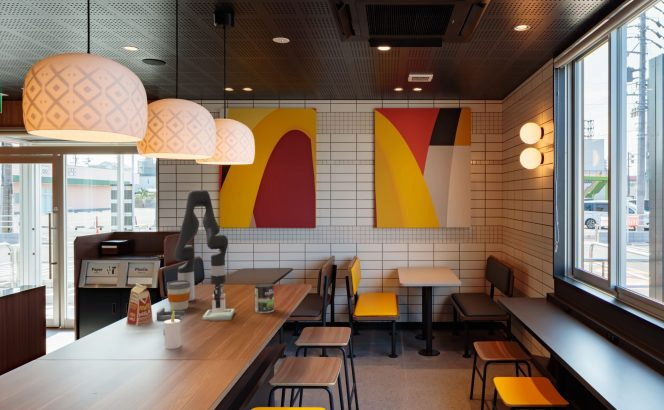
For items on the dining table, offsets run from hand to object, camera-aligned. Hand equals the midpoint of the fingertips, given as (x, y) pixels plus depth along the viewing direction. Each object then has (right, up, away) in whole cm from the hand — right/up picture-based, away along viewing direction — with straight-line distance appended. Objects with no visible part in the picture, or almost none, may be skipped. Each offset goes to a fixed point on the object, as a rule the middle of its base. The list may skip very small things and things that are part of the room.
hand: (218, 306), depth 222 cm
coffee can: (+22, -5, +10) cm, 25 cm away
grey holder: (-24, -6, -2) cm, 25 cm away
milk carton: (-36, -6, -10) cm, 38 cm away
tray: (0, -5, 0) cm, 5 cm away
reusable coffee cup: (-27, -6, +17) cm, 32 cm away
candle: (-8, -6, -44) cm, 45 cm away
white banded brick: (0, -3, 0) cm, 3 cm away
